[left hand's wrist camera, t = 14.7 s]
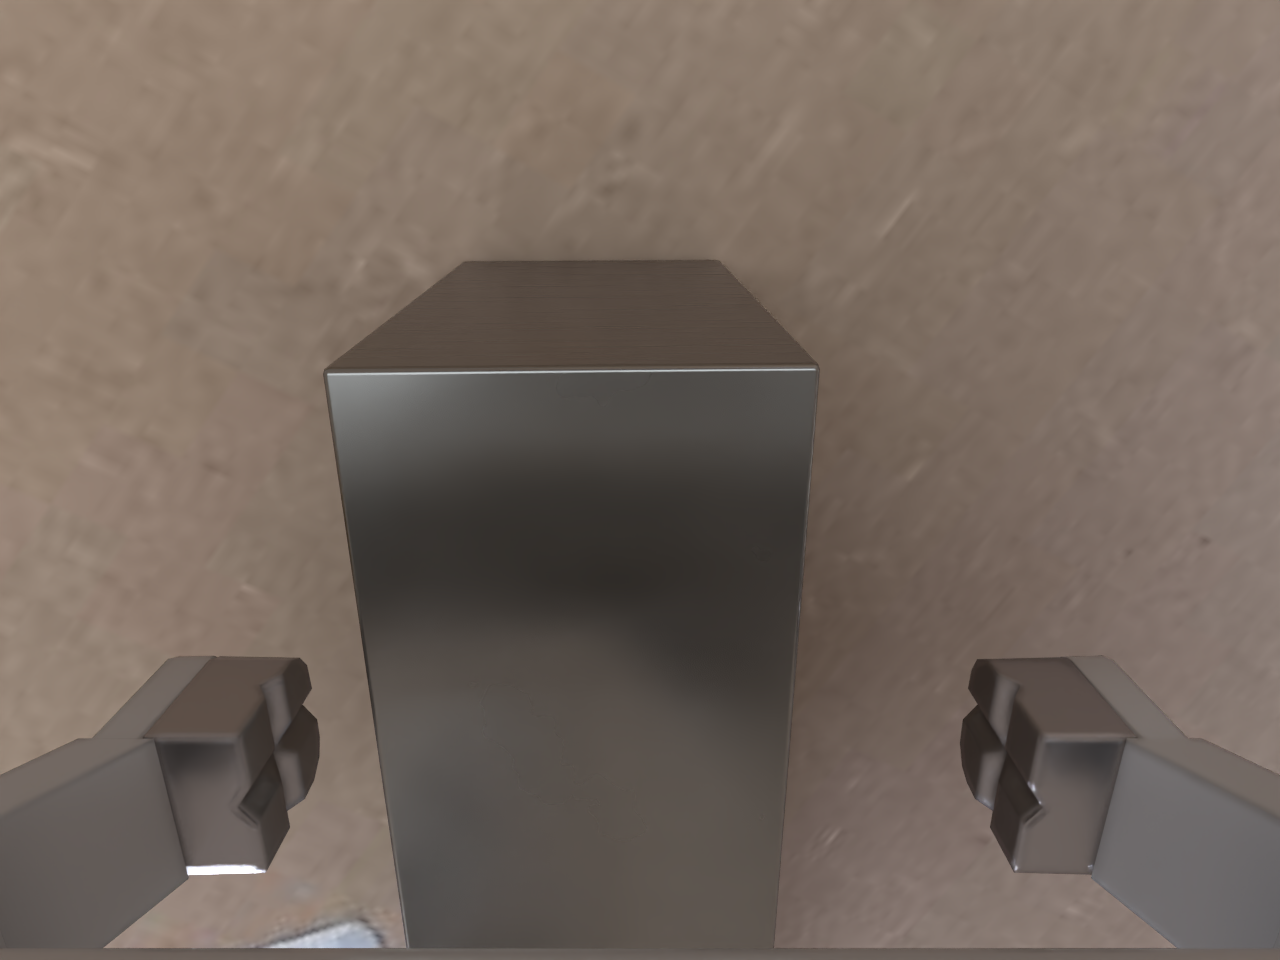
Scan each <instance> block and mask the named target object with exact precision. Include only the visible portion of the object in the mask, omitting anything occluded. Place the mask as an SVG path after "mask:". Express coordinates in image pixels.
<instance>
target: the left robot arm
mask: <svg viewBox="0 0 1280 960" xmlns="http://www.w3.org/2000/svg"><path fill="white" fill-rule="evenodd" d="M311 689H312V687H311V682H310V677H309V672H308V668H307V665H306V664H305V663H304V662H303V661H302V660H301V659H300V658H281V657H232V656H220V657H216V656H178V657H174V658H170V659H168V660H167V661H166V662H165V663H164V664H163V665H162V666H161V667H160V668H159V669H158V670H157V671H156V672H155V673H154V674H153V675H152V676H151V677H150V678H149V679H148V681H147V682H146V683H145V684H144V685H143V686H142V687H141V688H140V689H139V690H138V691H137V692H136V693H135V694H134V695H133V696H132V697H131V698H130V699H129V700H128V701H127V702H126V703H125V705H124V706H123V707H122V708H121V709H120V710H119V711H118V712H117V713H116V714H115V715H114V716H113V717H112V718H111V719H110V720H109V721H108V722H107V723H106V724H105V725H104V726H103V728H102V729H101V730H100V731H99V732H98V733H97V734H96V735H95V736H94V737H93V738H89V739H76V740H74V741H72V742H70V743H68V744H65V745H63V746H61V747H59V748H57V749H55V750H53V751H51V752H48V753H46V754H44V755H42V756H40V757H38V758H36V759H34V760H31V761H29V762H27V763H25V764H23V765H21V766H19V767H16V768H14V769H12V770H10V771H8V772H6V773H4V774H2V775H0V960H1280V775H1278V774H1276V773H1274V772H1272V771H1270V770H1268V769H1266V768H1263V767H1261V766H1259V765H1257V764H1255V763H1253V762H1251V761H1249V760H1246V759H1244V758H1242V757H1240V756H1238V755H1236V754H1234V753H1232V752H1229V751H1227V750H1225V749H1223V748H1221V747H1219V746H1217V745H1215V744H1212V743H1210V742H1208V741H1206V740H1204V739H1191V738H1187V737H1186V736H1185V735H1184V734H1183V733H1182V732H1181V731H1180V729H1179V728H1178V727H1177V726H1176V725H1175V724H1174V723H1173V722H1172V721H1171V720H1170V719H1169V718H1168V717H1167V716H1166V715H1165V714H1164V713H1163V712H1162V711H1161V710H1160V709H1159V708H1158V706H1157V705H1156V704H1155V703H1154V702H1153V701H1152V700H1151V699H1150V698H1149V697H1148V696H1147V695H1146V694H1145V693H1144V692H1143V691H1142V690H1141V689H1140V688H1139V687H1138V686H1137V685H1136V683H1135V682H1134V681H1133V680H1132V679H1131V678H1130V677H1129V676H1128V675H1127V674H1126V673H1125V672H1124V671H1123V670H1122V669H1121V668H1120V667H1119V666H1118V665H1117V664H1116V663H1115V662H1114V660H1112V659H1109V658H1107V657H1105V656H1102V655H1100V656H1072V657H1054V658H1010V659H977V660H976V662H975V664H974V666H973V668H972V671H971V676H970V681H969V687H968V689H969V691H970V692H971V694H972V696H973V697H974V699H975V701H976V702H977V704H978V705H977V706H976V707H975V708H974V709H973V710H972V711H971V712H970V713H969V714H968V715H967V716H966V717H965V718H964V719H963V723H962V731H961V739H960V749H961V759H962V767H963V771H964V774H965V777H966V781H967V784H968V786H969V788H970V790H971V791H972V793H973V795H974V797H975V799H976V800H978V801H979V802H981V803H982V804H984V805H985V806H987V807H988V808H989V809H991V810H992V811H993V813H992V819H991V825H990V828H991V830H992V832H993V834H994V836H995V837H996V839H997V841H998V843H999V845H1000V847H1001V849H1002V850H1003V852H1004V854H1005V856H1006V858H1007V860H1008V862H1009V864H1010V865H1011V867H1012V869H1013V871H1014V872H1019V873H1055V874H1091V875H1092V877H1091V878H1092V879H1093V880H1094V881H1095V882H1097V883H1098V884H1099V885H1100V886H1102V887H1103V888H1104V889H1105V890H1107V891H1108V892H1109V893H1110V894H1111V895H1113V896H1114V897H1115V898H1116V899H1118V900H1119V901H1120V902H1121V903H1123V904H1124V905H1125V906H1126V907H1127V908H1129V909H1130V910H1131V911H1132V912H1134V913H1135V914H1136V915H1137V916H1139V917H1140V918H1141V919H1142V920H1144V921H1145V922H1146V923H1147V924H1148V925H1150V926H1151V927H1152V928H1153V929H1155V930H1156V931H1157V932H1158V933H1160V934H1161V935H1162V936H1163V937H1164V938H1166V939H1167V940H1168V941H1169V942H1171V943H1172V944H1173V945H1174V946H1176V947H1177V948H103V947H105V946H106V945H107V944H108V943H110V942H111V941H112V940H113V939H115V938H116V937H117V936H118V935H119V934H121V933H122V932H123V931H124V930H126V929H127V928H128V927H129V926H131V925H132V924H133V923H134V922H136V921H137V920H138V919H139V918H140V917H142V916H143V915H144V914H145V913H147V912H148V911H149V910H150V909H152V908H153V907H154V906H155V905H157V904H158V903H159V902H160V901H161V900H163V899H164V898H165V897H166V896H168V895H169V894H170V893H171V892H173V891H174V890H175V889H176V888H178V887H179V886H180V885H181V884H182V883H184V882H185V881H186V880H187V879H188V878H189V877H188V875H189V874H224V873H259V872H266V871H267V869H268V868H269V866H270V864H271V862H272V860H273V858H274V856H275V854H276V853H277V851H278V849H279V847H280V845H281V843H282V841H283V839H284V837H285V836H286V834H287V832H288V830H289V828H290V824H289V819H288V813H287V811H288V810H289V809H291V808H292V807H294V806H295V805H296V804H298V803H299V802H301V801H302V800H304V799H305V798H306V795H307V793H308V791H309V789H310V787H311V785H312V783H313V781H314V778H315V774H316V769H317V765H318V760H319V748H320V736H319V729H318V723H317V719H316V718H315V717H314V716H313V715H312V714H311V713H310V712H309V711H308V710H307V709H306V708H305V707H304V706H303V705H302V704H303V702H304V701H305V699H306V697H307V696H308V694H309V692H310V691H311Z"/></svg>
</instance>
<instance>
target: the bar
mask: <svg viewBox="0 0 1280 960" xmlns="http://www.w3.org/2000/svg"><path fill="white" fill-rule="evenodd" d="M819 373H820V368H819V365H818V364H817V363H816V362H815V361H814V360H813V359H812V357H811V356H810V355H809V354H808V353H807V352H806V351H805V350H804V349H803V348H802V347H801V346H800V345H799V344H798V343H797V342H796V341H795V340H794V339H793V338H792V337H791V336H790V334H789V333H788V332H787V331H786V330H785V329H784V328H783V327H782V326H781V325H780V324H779V323H778V322H777V321H776V320H775V319H774V318H773V317H772V316H771V315H770V314H769V313H768V311H767V310H766V309H765V308H764V307H763V306H762V305H761V304H760V303H759V302H758V301H757V300H756V299H755V298H754V297H753V296H752V295H751V294H750V293H749V292H748V291H747V290H746V288H745V287H744V286H743V285H742V284H741V283H740V282H739V281H738V280H737V279H736V278H735V277H734V276H733V275H732V274H731V273H730V272H729V271H728V270H727V269H726V268H725V267H724V265H723V264H722V263H721V262H720V261H718V260H673V261H503V262H463V263H462V264H461V265H459V266H458V267H457V268H455V269H454V270H453V271H451V272H450V273H449V274H448V275H446V276H445V277H444V278H442V279H441V280H440V281H438V282H437V283H436V284H435V285H433V286H432V287H431V288H429V289H428V290H427V291H425V292H424V293H423V294H422V295H420V296H419V297H418V298H416V299H415V300H414V301H412V302H411V303H410V304H409V305H407V306H406V307H405V308H403V309H402V310H401V311H399V312H398V313H397V314H396V315H394V316H393V317H392V318H390V319H389V320H388V321H386V322H385V323H384V324H383V325H381V326H380V327H379V328H377V329H376V330H375V331H373V332H372V333H371V334H370V335H368V336H367V337H366V338H364V339H363V340H362V341H360V342H359V343H358V344H357V345H355V346H354V347H353V348H351V349H350V350H349V351H347V352H346V353H345V354H344V355H342V356H341V357H340V358H338V359H337V360H336V361H334V362H333V363H332V364H331V365H329V366H328V367H327V368H325V369H324V373H323V376H324V383H325V390H326V397H327V404H328V411H329V418H330V424H331V431H332V438H333V445H334V452H335V459H336V466H337V473H338V479H339V486H340V493H341V500H342V507H343V514H344V521H345V528H346V534H347V541H348V548H349V555H350V562H351V569H352V576H353V583H354V589H355V596H356V603H357V610H358V617H359V624H360V631H361V638H362V644H363V651H364V658H365V665H366V672H367V679H368V686H369V693H370V699H371V706H372V713H373V720H374V727H375V734H376V741H377V748H378V754H379V761H380V768H381V775H382V782H383V789H384V796H385V803H386V810H387V816H388V823H389V830H390V837H391V844H392V851H393V858H394V865H395V871H396V878H397V885H398V892H399V899H400V906H401V913H402V920H403V926H404V933H405V940H406V947H407V948H774V940H775V927H776V915H777V902H778V889H779V877H780V864H781V852H782V839H783V826H784V814H785V801H786V789H787V776H788V763H789V751H790V738H791V726H792V713H793V700H794V688H795V675H796V663H797V650H798V637H799V625H800V612H801V600H802V587H803V574H804V562H805V549H806V537H807V524H808V511H809V499H810V486H811V474H812V461H813V448H814V436H815V423H816V411H817V398H818V385H819Z"/></svg>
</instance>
